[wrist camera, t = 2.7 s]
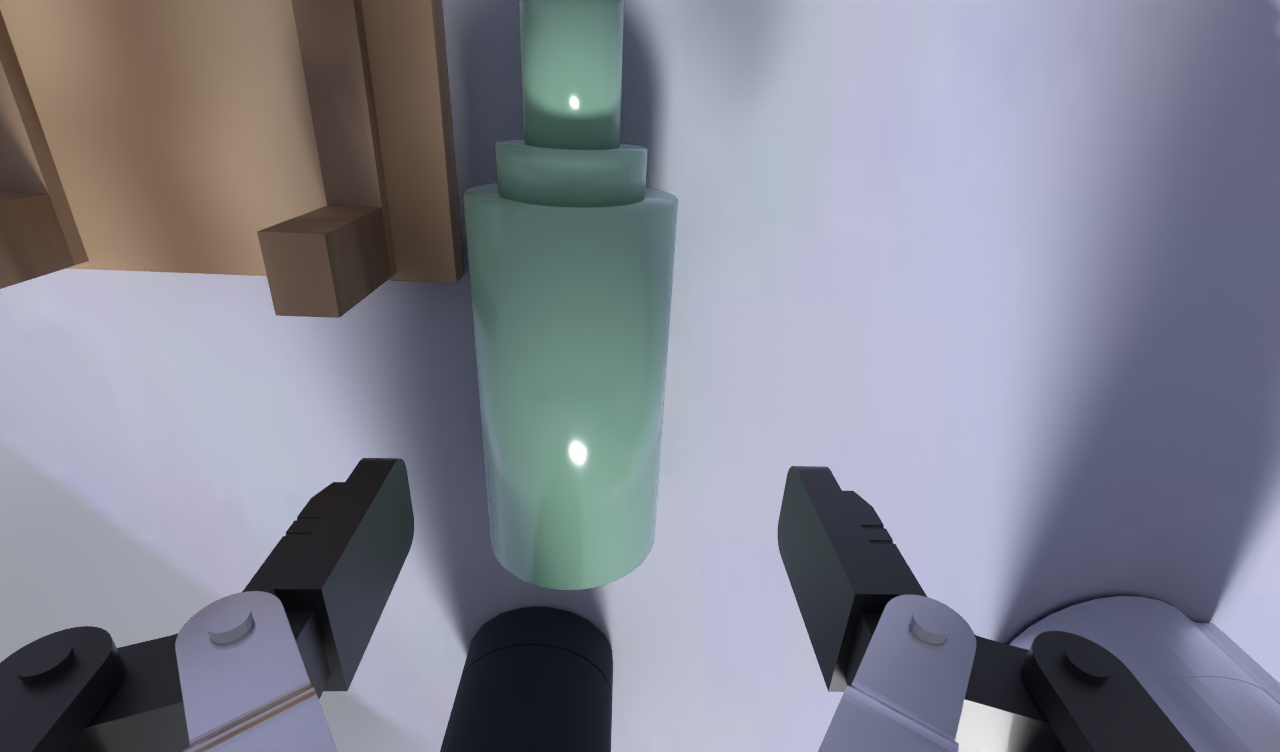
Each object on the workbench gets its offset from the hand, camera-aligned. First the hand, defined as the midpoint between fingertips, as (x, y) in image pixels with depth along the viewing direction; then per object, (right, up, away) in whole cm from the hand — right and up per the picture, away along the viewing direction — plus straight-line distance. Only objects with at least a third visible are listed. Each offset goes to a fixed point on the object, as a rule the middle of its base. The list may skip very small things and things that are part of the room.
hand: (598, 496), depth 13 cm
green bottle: (0, +6, +6) cm, 9 cm away
